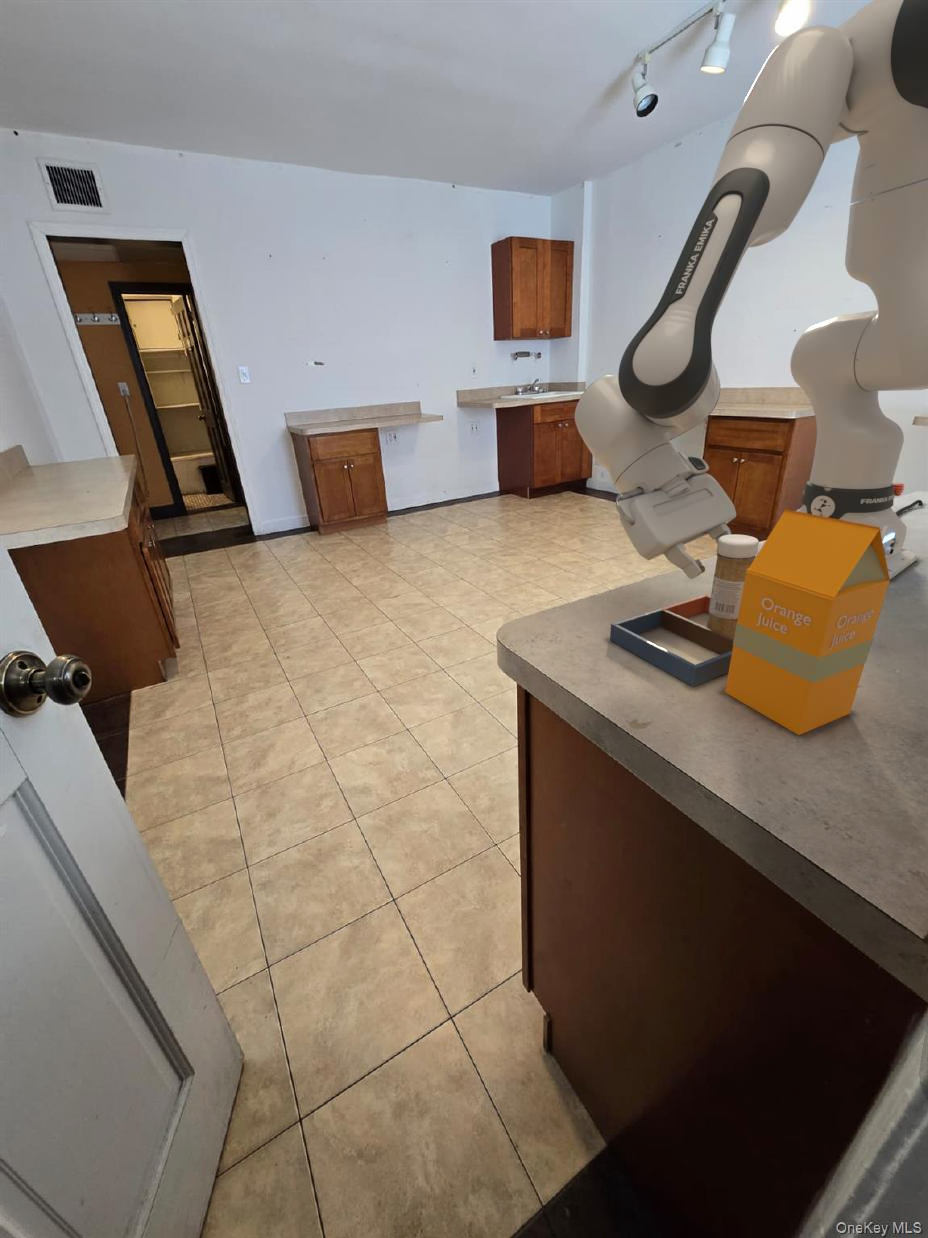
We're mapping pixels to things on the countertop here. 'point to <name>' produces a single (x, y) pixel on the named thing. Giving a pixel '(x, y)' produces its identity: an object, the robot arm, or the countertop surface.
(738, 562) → the sprinkles bottle
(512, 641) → the countertop surface
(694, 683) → the sorting tray
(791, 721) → the orange juice
